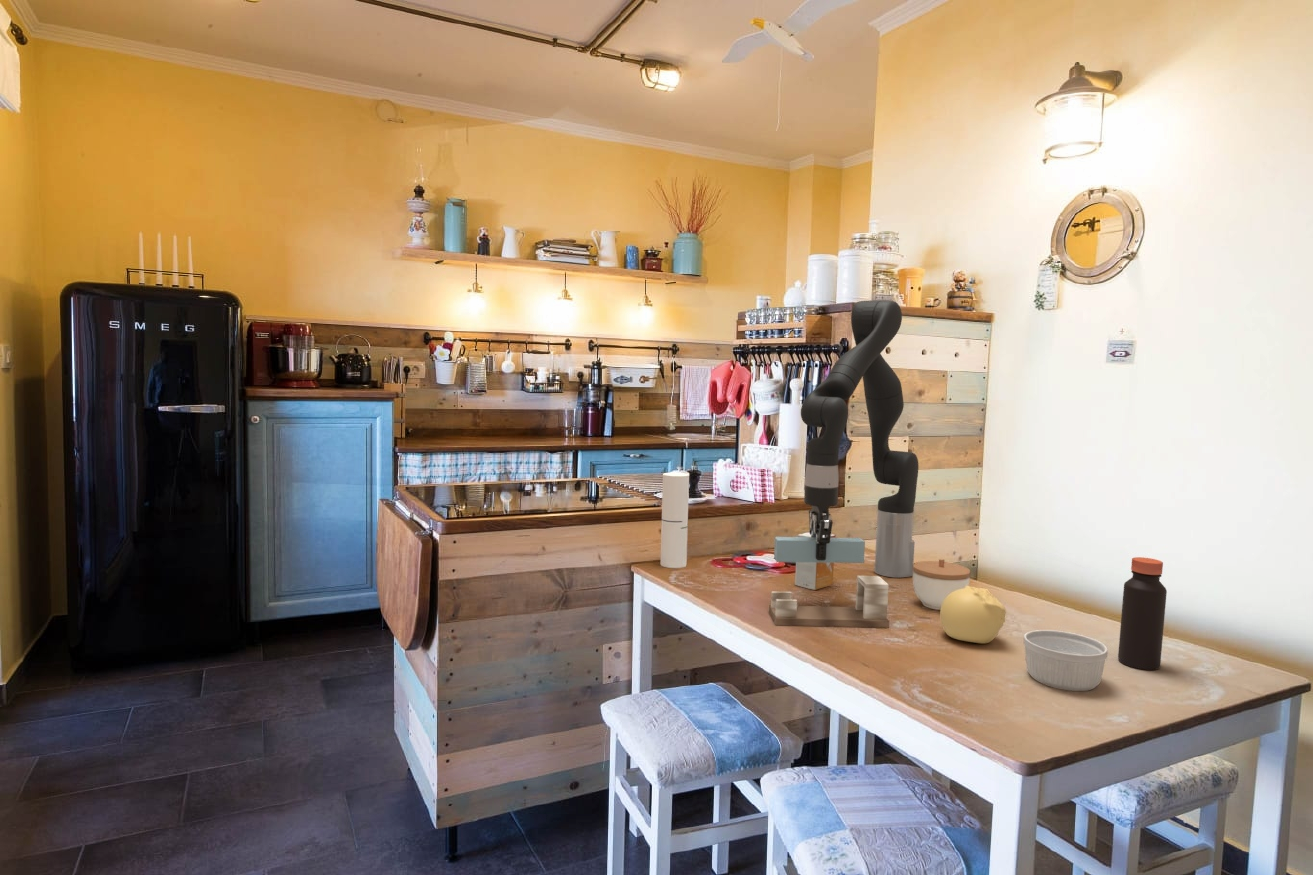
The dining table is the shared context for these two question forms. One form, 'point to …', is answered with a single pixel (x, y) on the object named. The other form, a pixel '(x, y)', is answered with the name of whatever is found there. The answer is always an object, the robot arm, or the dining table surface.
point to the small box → (814, 572)
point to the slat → (806, 550)
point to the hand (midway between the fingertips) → (818, 557)
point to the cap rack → (836, 608)
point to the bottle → (1143, 615)
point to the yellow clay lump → (972, 615)
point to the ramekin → (1064, 659)
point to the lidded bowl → (938, 581)
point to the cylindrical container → (674, 520)
